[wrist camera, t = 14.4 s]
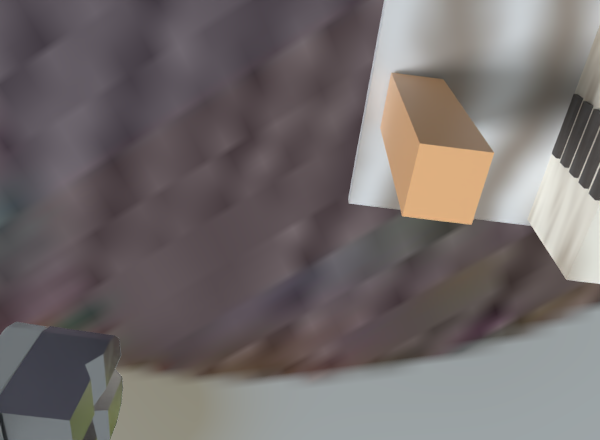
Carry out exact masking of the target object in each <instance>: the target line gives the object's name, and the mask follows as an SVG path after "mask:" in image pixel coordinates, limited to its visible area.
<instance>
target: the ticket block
mask: <svg viewBox="0 0 600 440" xmlns="http://www.w3.org/2000/svg"><path fill="white" fill-rule="evenodd" d="M391 73H399V74H407V75H415V76H422V77H430V78H438V79H444V81H445V82H446V84H447V85H448V87H449V88H450V89H451V91H452V92H453V94H454V95H455V97H456V98H457V100H458V101H459V102H460V104H461V105H462V107H463V108H464V110H465V111H466V113H467V114H468V115H469V117H470V118H471V120H472V121H473V123H474V124H475V126H476V127H477V129H478V130H479V131H480V133H481V134H482V136H483V137H484V139H485V140H486V142H487V143H488V144H489V146H490V147H491V149H492V150H493V152H494V155H493V159H492V162H491V165H490V168H489V171H488V174H487V178H486V181H485V184H484V187H483V190H482V193H481V197H480V200H479V203H478V206H477V209H476V212H475V216H474V219H480V220H488V221H497V222H505V223H513V224H521V225H529V226H532V227H533V229H534V231H535V232H536V234H537V235H538V237H539V238H540V240H541V241H542V243H543V244H544V246H545V247H546V249H547V251H548V252H549V254H550V255H551V257H552V258H553V260H554V261H555V263H556V264H557V266H558V267H559V269H560V271H561V272H562V274H563V275H564V277H565V278H566V280H573V281H581V282H590V283H598V284H600V0H384V4H383V10H382V15H381V21H380V26H379V32H378V37H377V43H376V48H375V54H374V59H373V65H372V70H371V76H370V81H369V87H368V92H367V98H366V103H365V109H364V114H363V120H362V125H361V131H360V136H359V142H358V147H357V153H356V158H355V164H354V169H353V175H352V180H351V186H350V191H349V197H348V199H349V203H350V204H358V205H366V206H374V207H383V208H391V209H399V210H401V209H400V205H399V201H398V197H397V193H396V189H395V185H394V181H393V177H392V173H391V169H390V165H389V161H388V157H387V153H386V149H385V145H384V141H383V137H382V133H381V129H380V126H381V121H382V116H383V111H384V106H385V101H386V96H387V91H388V86H389V81H390V76H391Z"/></svg>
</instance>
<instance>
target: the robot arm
mask: <svg viewBox="0 0 600 440" xmlns="http://www.w3.org/2000/svg"><path fill="white" fill-rule="evenodd" d="M120 357H121V350H120V339H119V338H118V337H116V336H113V335H106V334H100V333H93V332H86V331H79V330H72V329H65V328H58V327H51V326H50V327H46V326H39V325H32V324H26V323H19V322H15V323H13V324H12V325H10V326H8V327H7V328H6V329H5V330H4V331H3V332H2V334H1V335H0V440H110V439H111V436H112V434H113V431H114V428H115V426H116V423H117V419H118V415H119V411H120V407H121V402H122V391H123V384H122V376H121V375H120V374H119V373H118V372H117V370H116V369H115V368H116V366H117V363H118V361H119V359H120Z"/></svg>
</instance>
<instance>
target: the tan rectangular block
mask: <svg viewBox="0 0 600 440" xmlns="http://www.w3.org/2000/svg"><path fill="white" fill-rule="evenodd" d="M380 129H381V133H382V137H383V141H384V145H385V149H386V153H387V157H388V161H389V165H390V169H391V173H392V177H393V181H394V185H395V189H396V193H397V197H398V201H399V205H400V209H401V213H402V216H405V217H413V218H421V219H429V220H437V221H445V222H454V223H462V224H470V225H472V222H473V219H474V216H475V212H476V209H477V206H478V203H479V200H480V197H481V193H482V190H483V187H484V184H485V181H486V178H487V174H488V171H489V168H490V165H491V162H492V159H493V155H494V152H493V150H492V149H491V147H490V146H489V144H488V143H487V142H486V140H485V139H484V137H483V136H482V134H481V133H480V131H479V130H478V129H477V127H476V126H475V124H474V123H473V121H472V120H471V118H470V117H469V115H468V114H467V113H466V111H465V110H464V108H463V107H462V105H461V104H460V102H459V101H458V100H457V98H456V97H455V95H454V94H453V92H452V91H451V89H450V88H449V87H448V85H447V84H446V82H445V81H444V79H438V78H430V77H422V76H415V75H407V74H399V73H391V76H390V81H389V86H388V91H387V96H386V101H385V106H384V111H383V116H382V121H381V126H380Z"/></svg>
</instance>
